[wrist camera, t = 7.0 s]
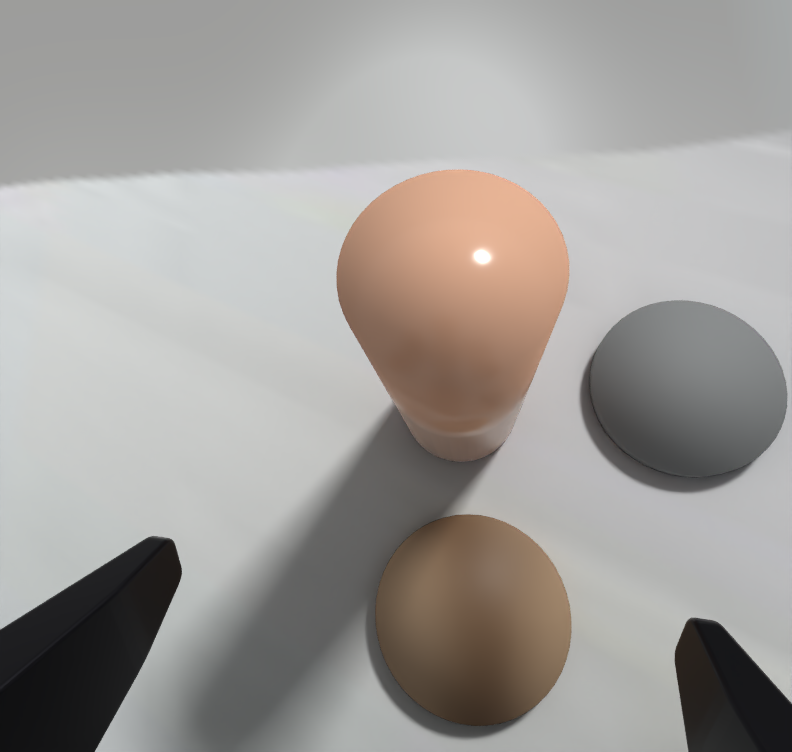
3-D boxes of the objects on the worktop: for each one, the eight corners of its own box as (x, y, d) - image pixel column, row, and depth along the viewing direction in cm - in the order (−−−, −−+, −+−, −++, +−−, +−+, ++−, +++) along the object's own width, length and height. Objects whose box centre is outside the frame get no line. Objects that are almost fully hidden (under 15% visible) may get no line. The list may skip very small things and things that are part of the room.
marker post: (430, 479, 23) (384, 417, 11) (388, 378, 25) (307, 222, 12) (536, 435, 23) (613, 320, 11) (487, 336, 25) (506, 137, 12)
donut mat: (419, 751, 20) (417, 758, 20) (351, 555, 23) (349, 556, 22) (604, 675, 20) (608, 680, 20) (517, 487, 22) (518, 486, 22)
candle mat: (644, 505, 22) (649, 505, 21) (559, 345, 24) (561, 341, 23) (818, 434, 22) (827, 431, 21) (715, 280, 24) (721, 274, 23)
